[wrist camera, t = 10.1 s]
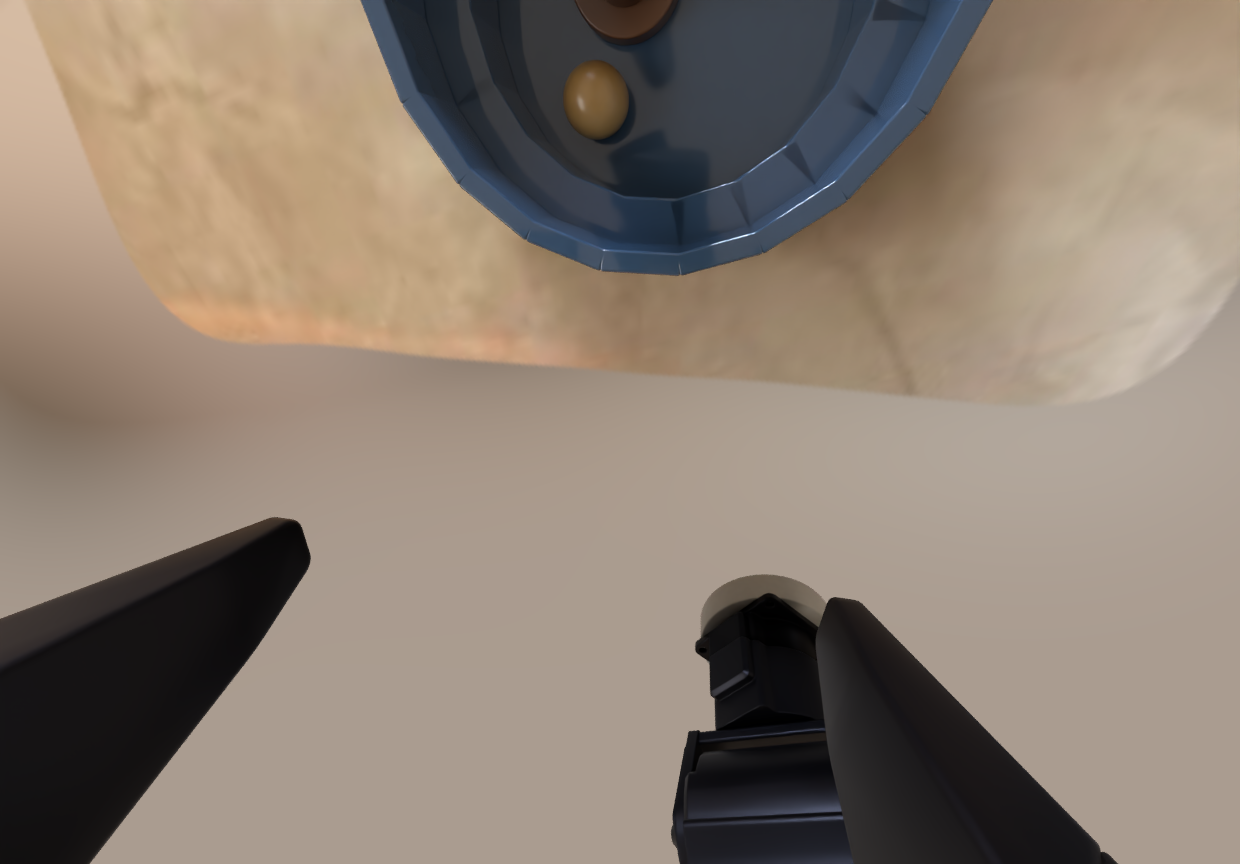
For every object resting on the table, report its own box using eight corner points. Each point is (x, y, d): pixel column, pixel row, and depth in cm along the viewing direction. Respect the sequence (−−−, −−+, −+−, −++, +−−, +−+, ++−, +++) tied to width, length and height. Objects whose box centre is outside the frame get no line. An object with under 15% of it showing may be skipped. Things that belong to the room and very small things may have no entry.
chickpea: (645, 98, 15) (638, 86, 13) (607, 156, 16) (596, 152, 14) (595, 52, 15) (581, 33, 13) (559, 113, 16) (542, 104, 14)
